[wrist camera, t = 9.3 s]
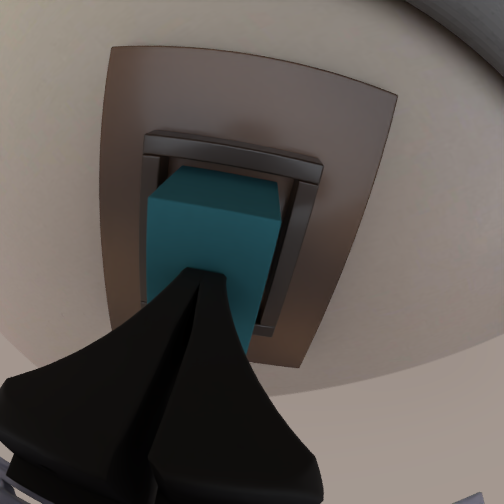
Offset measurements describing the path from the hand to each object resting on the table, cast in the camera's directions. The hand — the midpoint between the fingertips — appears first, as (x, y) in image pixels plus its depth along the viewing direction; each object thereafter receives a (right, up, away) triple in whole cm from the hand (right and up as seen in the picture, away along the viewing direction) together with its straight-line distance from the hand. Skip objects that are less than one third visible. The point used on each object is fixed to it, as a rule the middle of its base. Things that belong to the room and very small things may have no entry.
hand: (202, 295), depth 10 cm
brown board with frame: (0, +3, +5) cm, 5 cm away
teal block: (0, +2, +4) cm, 4 cm away
